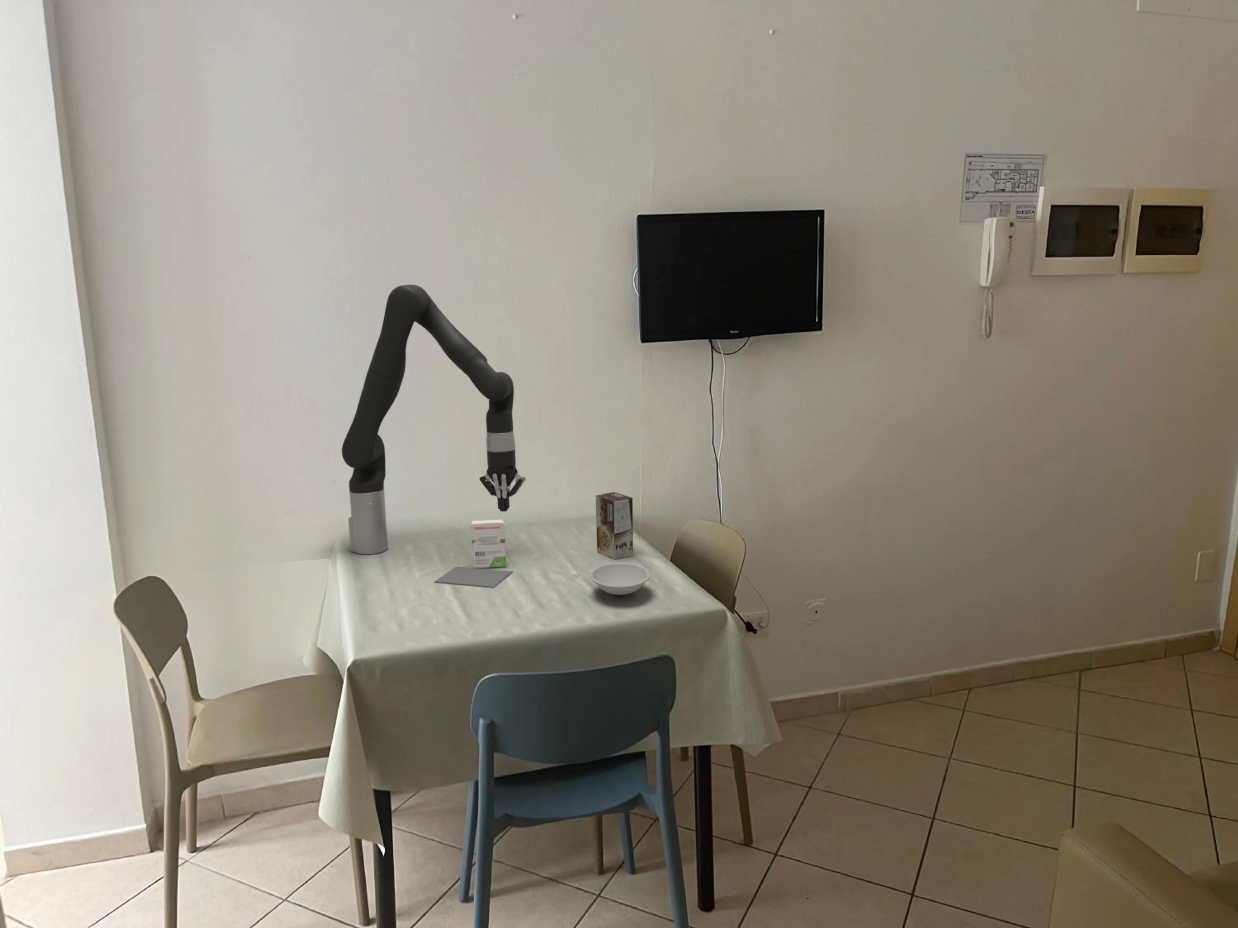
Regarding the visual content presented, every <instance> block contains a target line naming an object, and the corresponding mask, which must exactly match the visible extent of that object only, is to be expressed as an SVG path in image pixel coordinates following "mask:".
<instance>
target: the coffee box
mask: <svg viewBox="0 0 1238 928" xmlns="http://www.w3.org/2000/svg"><path fill="white" fill-rule="evenodd" d="M633 500H634V497H631V496H628V495H625V494H621V493H618V492H615V491H611V492H605V493H602V494H598V495H595V511H596V512H595V514H596V515H595V518H596V519H595V522H596V523H595V524H596V550H597V551H596V552H597V553H599V554H602V555H604V556H606V557H608V558H611V559H614V560H617V559H622V558H623V559H624V558H628V557H632V556H634V522H633V521H634V516H633V513H634V511H633V505H634V504H633Z"/></svg>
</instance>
